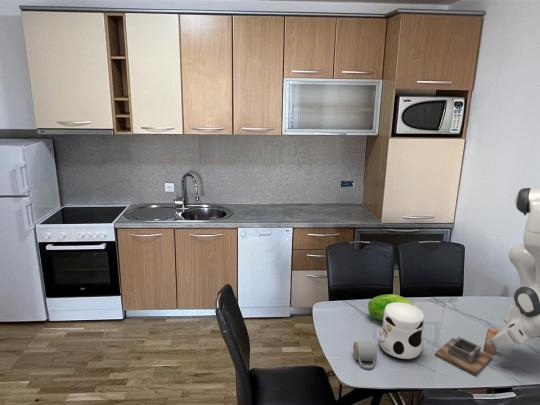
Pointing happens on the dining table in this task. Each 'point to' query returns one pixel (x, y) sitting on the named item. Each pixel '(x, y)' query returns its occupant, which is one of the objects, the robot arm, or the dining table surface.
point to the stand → (464, 355)
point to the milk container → (402, 330)
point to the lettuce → (383, 304)
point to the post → (491, 348)
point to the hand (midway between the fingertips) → (491, 338)
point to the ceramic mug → (365, 352)
